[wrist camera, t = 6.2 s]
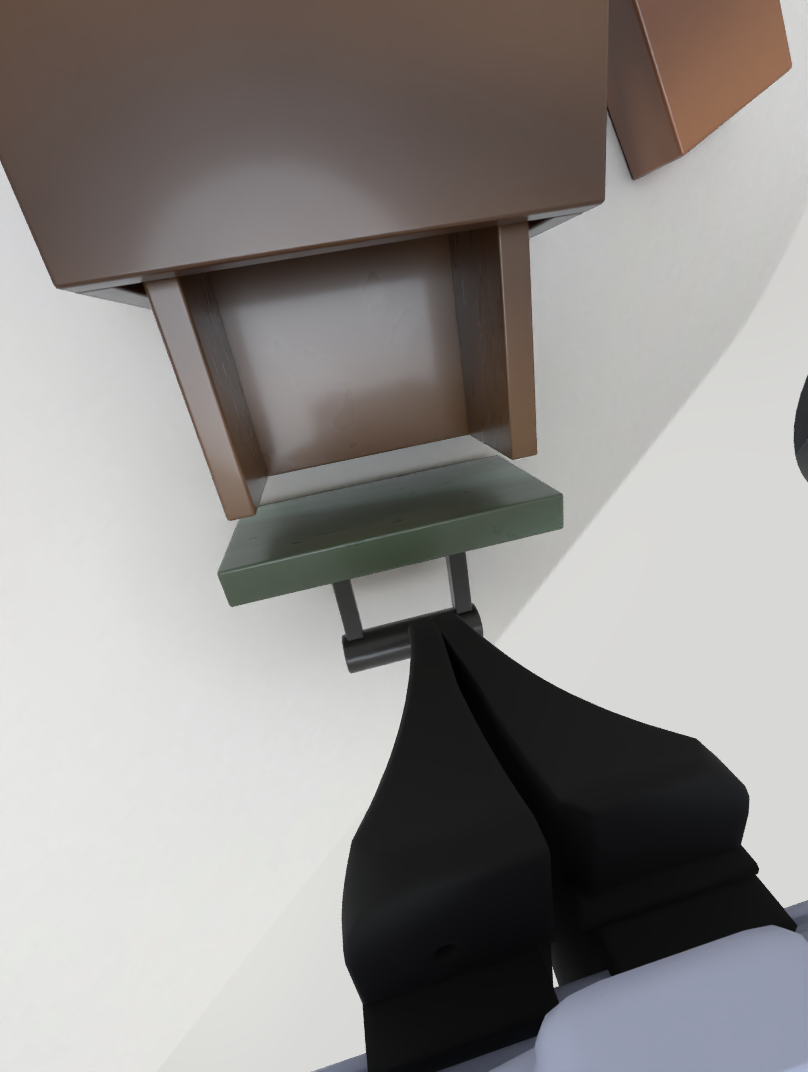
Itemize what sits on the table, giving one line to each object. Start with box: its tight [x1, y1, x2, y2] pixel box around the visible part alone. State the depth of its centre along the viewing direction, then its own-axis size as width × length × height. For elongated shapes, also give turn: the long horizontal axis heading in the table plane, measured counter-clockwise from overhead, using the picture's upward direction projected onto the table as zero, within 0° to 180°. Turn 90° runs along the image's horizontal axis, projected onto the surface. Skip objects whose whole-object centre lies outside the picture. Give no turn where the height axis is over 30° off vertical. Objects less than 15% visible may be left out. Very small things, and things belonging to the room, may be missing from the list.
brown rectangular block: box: [607, 0, 792, 180], centre depth 14 cm, size 6×4×2 cm, turn 36°
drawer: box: [142, 221, 563, 673], centre depth 14 cm, size 17×10×5 cm, turn 9°
